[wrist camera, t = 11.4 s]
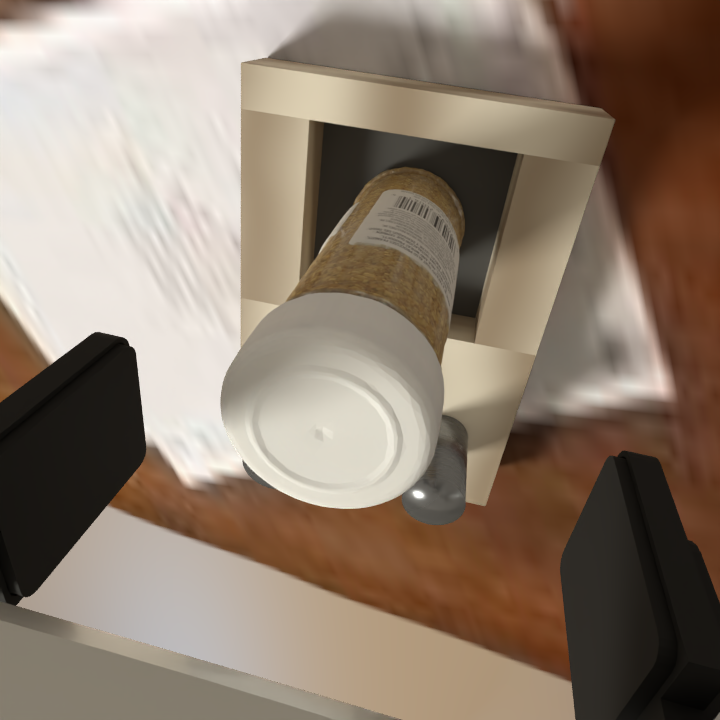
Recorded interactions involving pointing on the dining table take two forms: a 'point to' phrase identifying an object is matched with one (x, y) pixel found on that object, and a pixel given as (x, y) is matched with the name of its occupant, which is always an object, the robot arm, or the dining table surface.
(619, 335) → the dining table surface
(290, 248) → the cream square frame
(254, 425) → the sprinkles bottle
